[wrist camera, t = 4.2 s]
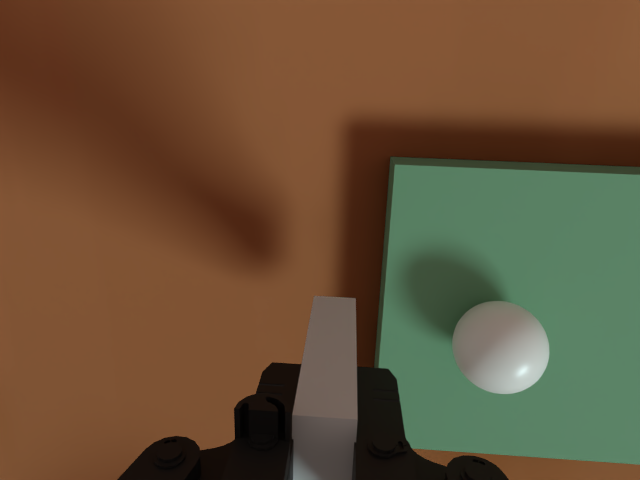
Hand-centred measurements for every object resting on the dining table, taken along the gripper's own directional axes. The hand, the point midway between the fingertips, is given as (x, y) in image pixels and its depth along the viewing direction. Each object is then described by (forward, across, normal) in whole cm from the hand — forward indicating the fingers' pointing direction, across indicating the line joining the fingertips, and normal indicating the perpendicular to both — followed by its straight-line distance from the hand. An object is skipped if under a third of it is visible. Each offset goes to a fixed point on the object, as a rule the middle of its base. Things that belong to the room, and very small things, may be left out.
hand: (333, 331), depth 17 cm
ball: (0, -6, 0) cm, 6 cm away
